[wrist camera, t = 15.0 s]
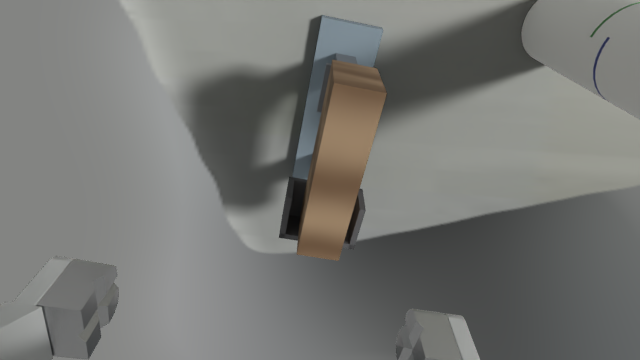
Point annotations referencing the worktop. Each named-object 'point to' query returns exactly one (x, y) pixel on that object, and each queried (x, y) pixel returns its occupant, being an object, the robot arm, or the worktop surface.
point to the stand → (336, 44)
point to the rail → (339, 157)
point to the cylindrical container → (590, 45)
